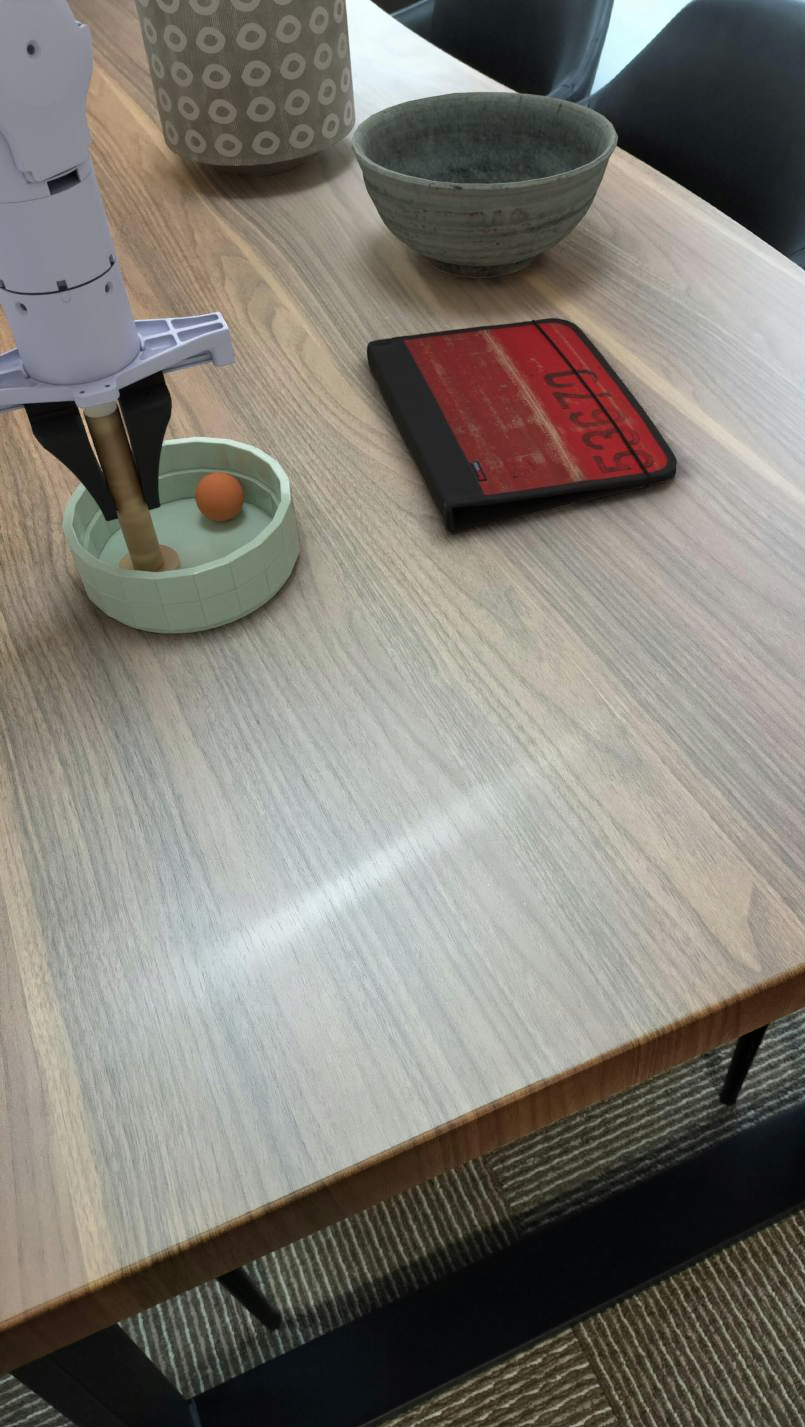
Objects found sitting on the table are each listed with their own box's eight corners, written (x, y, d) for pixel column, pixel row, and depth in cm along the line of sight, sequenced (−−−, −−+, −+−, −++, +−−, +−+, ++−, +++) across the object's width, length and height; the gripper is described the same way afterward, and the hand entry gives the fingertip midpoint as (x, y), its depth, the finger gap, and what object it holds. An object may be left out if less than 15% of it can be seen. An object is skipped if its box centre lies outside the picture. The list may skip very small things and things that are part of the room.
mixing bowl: (75, 650, 58) (50, 591, 55) (94, 508, 67) (74, 450, 64) (305, 622, 59) (295, 562, 56) (295, 485, 68) (285, 425, 64)
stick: (126, 598, 60) (70, 435, 51) (116, 561, 62) (60, 399, 54) (187, 581, 60) (141, 417, 52) (174, 545, 63) (128, 383, 54)
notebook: (446, 505, 61) (364, 338, 75) (446, 536, 63) (365, 367, 77) (693, 461, 64) (570, 307, 78) (686, 492, 66) (566, 336, 79)
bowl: (318, 293, 85) (302, 164, 77) (422, 191, 97) (417, 71, 89) (558, 335, 78) (566, 199, 71) (637, 220, 90) (651, 94, 83)
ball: (188, 504, 62) (196, 459, 63) (194, 525, 65) (202, 483, 66) (237, 511, 62) (245, 467, 63) (241, 532, 65) (249, 490, 66)
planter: (397, 150, 104) (384, -72, 90) (255, 216, 95) (218, -17, 82) (272, 111, 113) (244, -95, 99) (133, 168, 104) (81, -48, 91)
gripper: (-104, 341, 43) (7, 584, 54) (228, 266, 46) (273, 510, 56) (-111, 272, 48) (-7, 508, 58) (192, 207, 51) (240, 443, 61)
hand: (130, 504), depth 57 cm, fingers closed on stick, 2 cm apart
